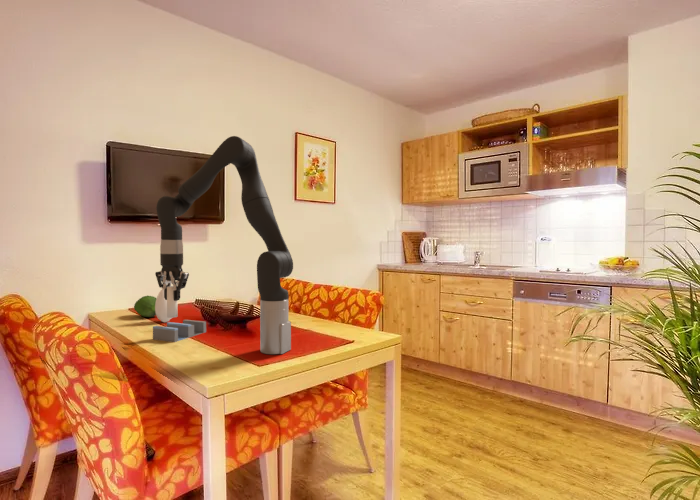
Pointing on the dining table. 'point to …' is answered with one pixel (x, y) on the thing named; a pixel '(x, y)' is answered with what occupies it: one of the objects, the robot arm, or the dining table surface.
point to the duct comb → (179, 330)
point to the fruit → (146, 306)
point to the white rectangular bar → (171, 303)
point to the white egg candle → (161, 307)
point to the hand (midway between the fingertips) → (172, 299)
